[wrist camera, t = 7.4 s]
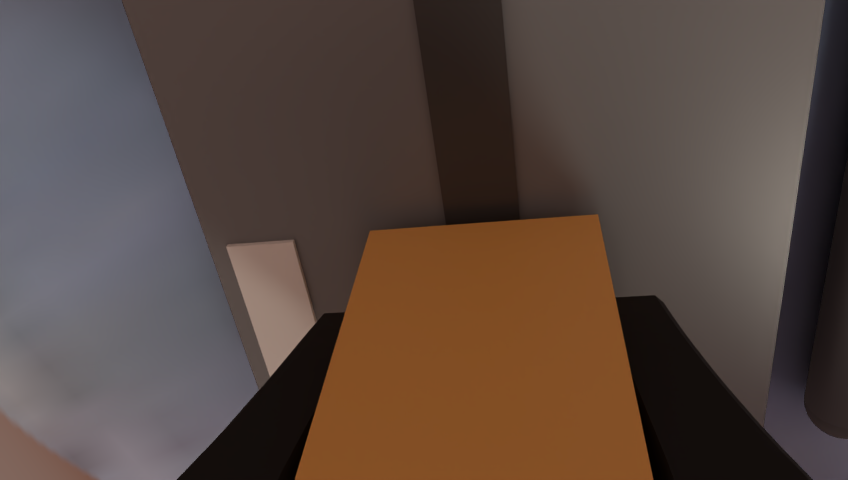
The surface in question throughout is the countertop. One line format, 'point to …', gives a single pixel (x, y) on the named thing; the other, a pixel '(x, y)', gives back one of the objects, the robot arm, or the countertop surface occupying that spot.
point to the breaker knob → (480, 360)
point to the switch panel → (493, 145)
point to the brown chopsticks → (832, 337)
